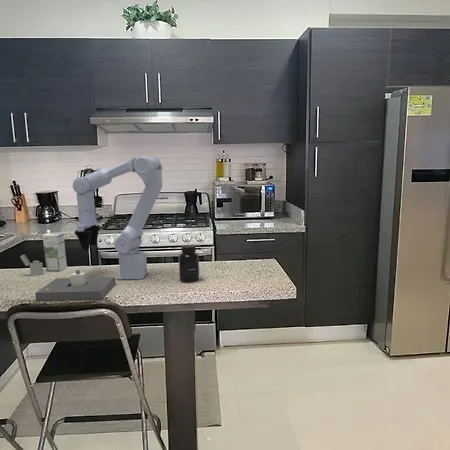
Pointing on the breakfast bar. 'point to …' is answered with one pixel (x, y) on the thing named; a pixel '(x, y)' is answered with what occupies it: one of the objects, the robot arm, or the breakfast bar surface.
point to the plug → (78, 279)
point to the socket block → (76, 289)
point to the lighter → (33, 266)
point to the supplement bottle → (189, 264)
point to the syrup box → (54, 251)
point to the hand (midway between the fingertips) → (89, 247)
